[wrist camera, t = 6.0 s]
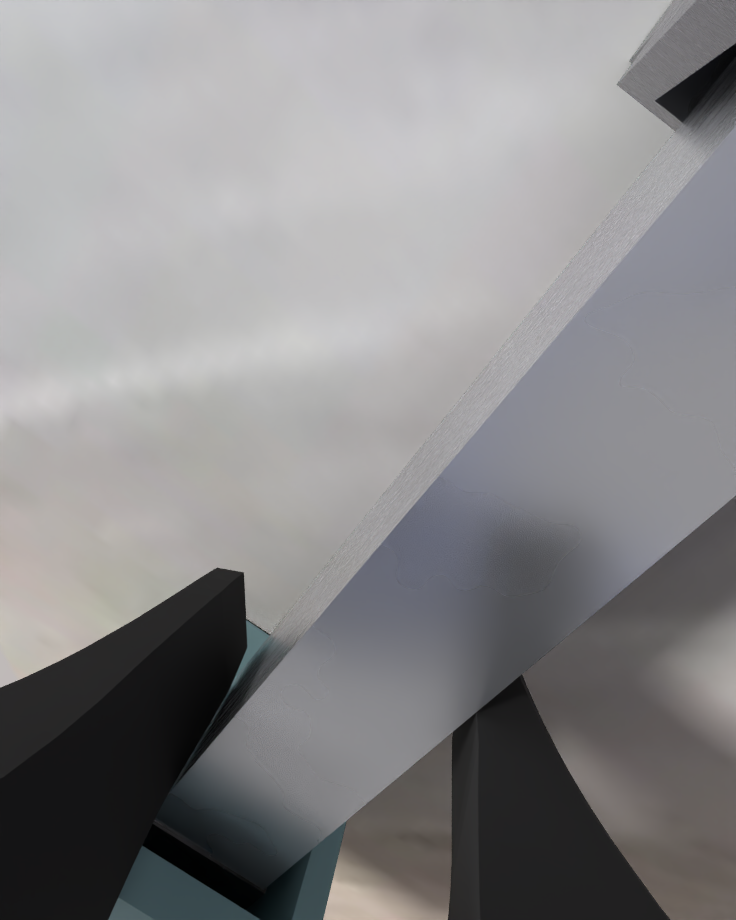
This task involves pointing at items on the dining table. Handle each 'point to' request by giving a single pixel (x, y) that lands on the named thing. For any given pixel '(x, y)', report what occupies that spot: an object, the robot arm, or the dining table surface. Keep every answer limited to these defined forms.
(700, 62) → the sleeve
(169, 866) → the socket
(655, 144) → the dining table surface
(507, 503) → the extension bar
